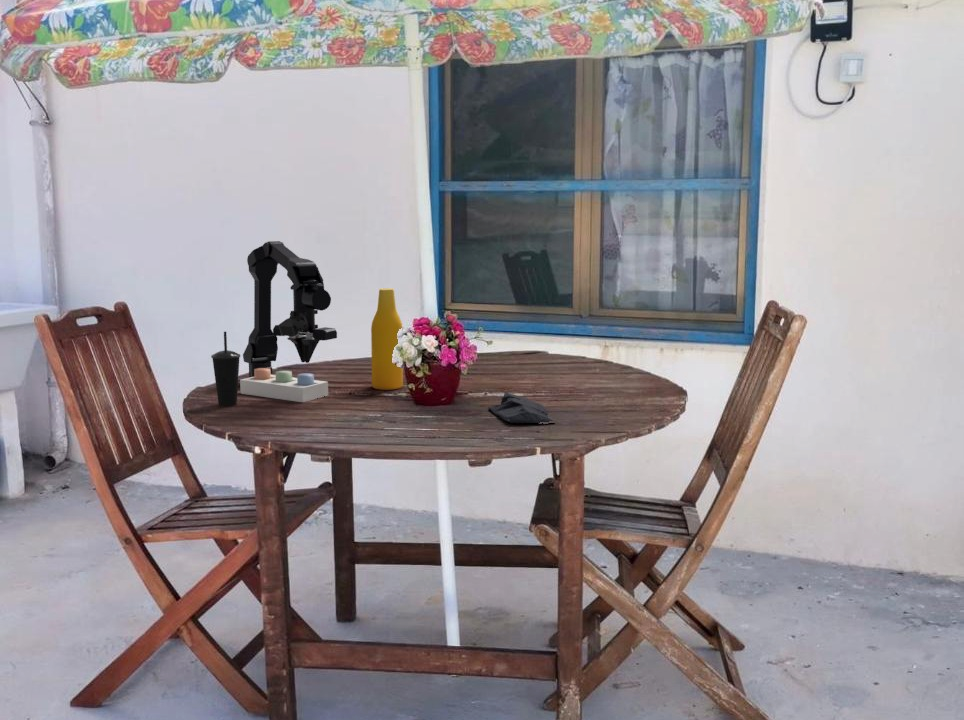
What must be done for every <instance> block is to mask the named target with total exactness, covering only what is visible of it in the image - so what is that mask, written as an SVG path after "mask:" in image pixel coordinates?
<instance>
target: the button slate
mask: <svg viewBox="0 0 964 720" xmlns="http://www.w3.org/2000/svg"><path fill="white" fill-rule="evenodd" d="M296 378H297V385H302V386H309V385H313V384H314V380H315V374H314V373H298V374H297V375H296Z"/></svg>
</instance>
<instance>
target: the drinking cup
mask: <svg viewBox="0 0 964 720" xmlns="http://www.w3.org/2000/svg"><path fill="white" fill-rule="evenodd" d="M227 340H228V339H227V331H223V348H224V349H223V350H220V351H218V352H215V353H213V354H211V356H210V357H211V359H212V365H213V371H214V372H213V373H214V380H215V388H216V395H217V402H218V403H217V404H218V406H220V407H234V406H237V404H238V390H239V388H238V387H239V372H240V371H239V370H240V358H241V354H240V353H238V352H236V351H233V350H228V345H227V344H228V341H227Z"/></svg>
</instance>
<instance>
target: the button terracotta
mask: <svg viewBox="0 0 964 720" xmlns="http://www.w3.org/2000/svg"><path fill="white" fill-rule="evenodd" d="M254 379H258V380H267V379H271V369H269V368H257V369H254Z"/></svg>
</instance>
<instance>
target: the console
mask: <svg viewBox="0 0 964 720" xmlns="http://www.w3.org/2000/svg"><path fill="white" fill-rule="evenodd" d="M239 385H240V390H239V391H240V394H241V395H248V396H255V397H262V398H263V397H264V398H268V399H269V398H271V399H277V400H283V401H290V402H291V401H292V402H298V403H306V402H309V401H314V400H317V398H318V399H321V398H324V396H325V397H329V382H328V381H325V380H318V379H314V384H313V385H309V386H302V385H297V377H294V376H292V382H287V383H280V382H276V375H275V374H273V373H272V374H271V379H267V380H258V379H254V377H250V378H249V377H246V378H242V379H239Z"/></svg>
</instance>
